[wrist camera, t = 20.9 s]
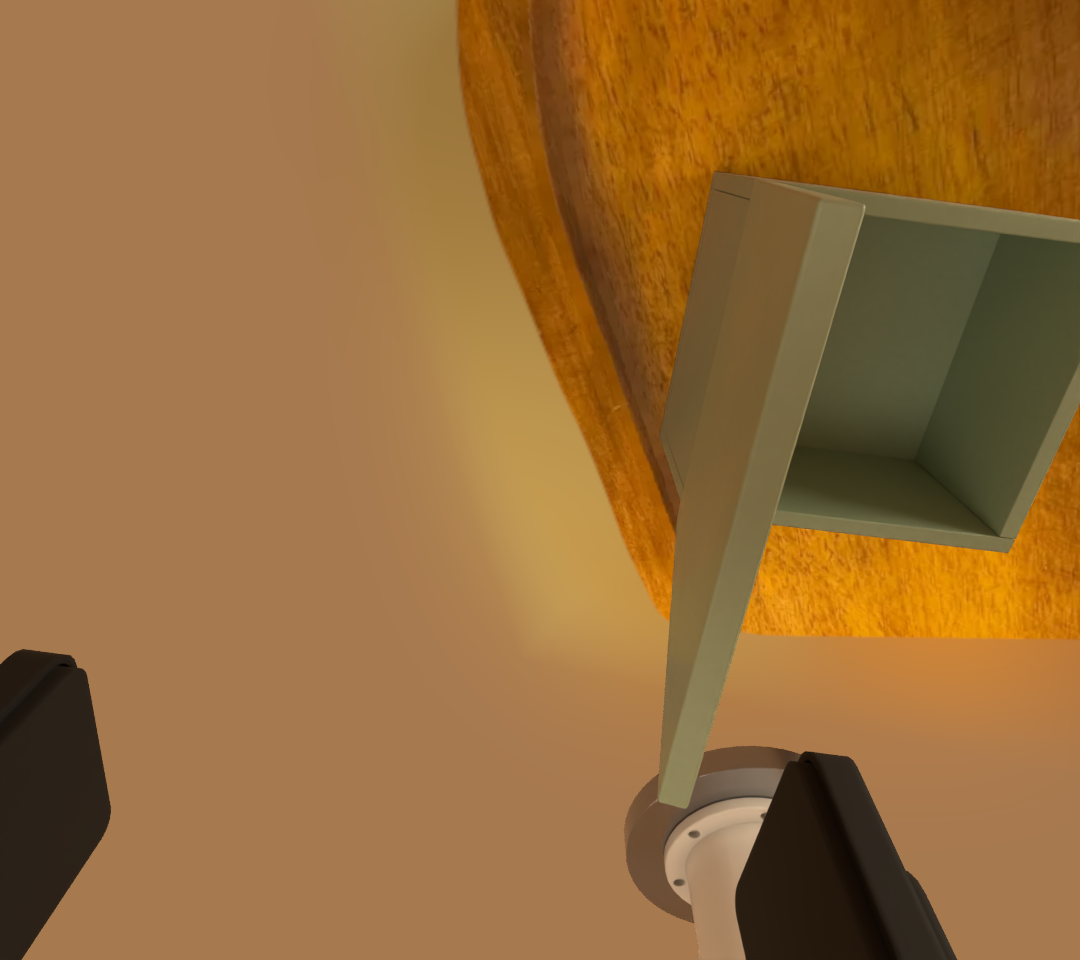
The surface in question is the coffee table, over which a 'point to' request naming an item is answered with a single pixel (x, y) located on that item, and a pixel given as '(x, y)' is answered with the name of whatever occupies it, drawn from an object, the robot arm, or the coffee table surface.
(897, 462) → the grey-green open box
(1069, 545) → the coffee table surface
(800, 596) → the coffee table surface
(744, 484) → the lid
